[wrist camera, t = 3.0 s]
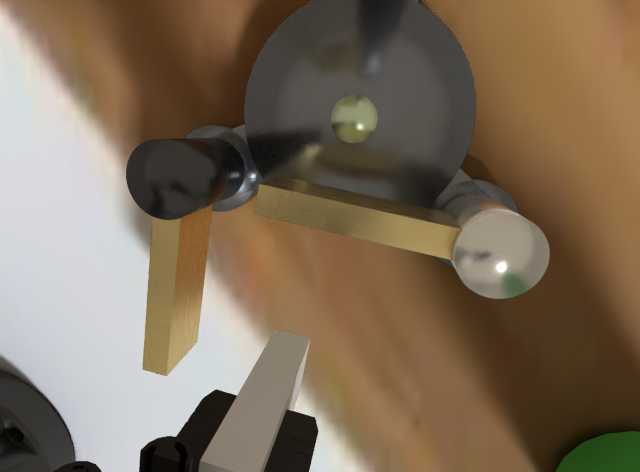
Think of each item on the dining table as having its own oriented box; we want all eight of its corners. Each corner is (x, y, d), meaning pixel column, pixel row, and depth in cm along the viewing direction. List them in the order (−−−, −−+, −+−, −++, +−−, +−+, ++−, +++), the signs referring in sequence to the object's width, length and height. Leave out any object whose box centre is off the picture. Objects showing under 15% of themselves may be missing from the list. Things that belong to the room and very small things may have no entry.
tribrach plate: (184, 197, 24) (165, 203, 22) (215, -137, 19) (193, -173, 17) (494, 269, 22) (506, 284, 20) (618, -83, 17) (653, -114, 15)
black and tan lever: (189, 132, 22) (128, 131, 16) (249, 144, 21) (205, 148, 16) (172, 320, 25) (117, 369, 20) (223, 334, 25) (180, 387, 20)
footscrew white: (515, 201, 20) (563, 225, 15) (493, 264, 21) (531, 307, 16) (289, 153, 21) (259, 159, 16) (279, 215, 22) (247, 240, 17)
